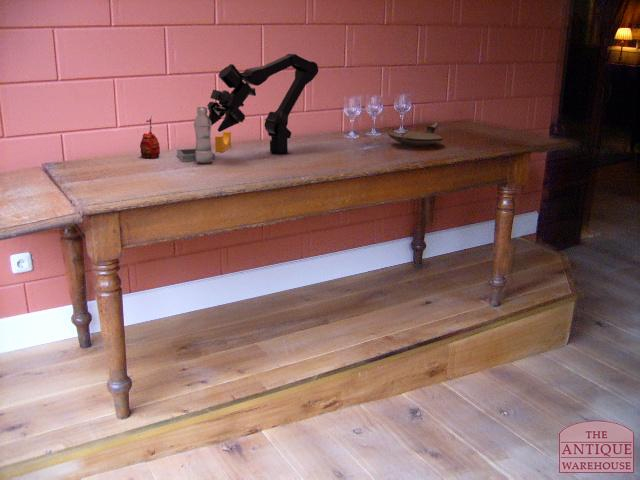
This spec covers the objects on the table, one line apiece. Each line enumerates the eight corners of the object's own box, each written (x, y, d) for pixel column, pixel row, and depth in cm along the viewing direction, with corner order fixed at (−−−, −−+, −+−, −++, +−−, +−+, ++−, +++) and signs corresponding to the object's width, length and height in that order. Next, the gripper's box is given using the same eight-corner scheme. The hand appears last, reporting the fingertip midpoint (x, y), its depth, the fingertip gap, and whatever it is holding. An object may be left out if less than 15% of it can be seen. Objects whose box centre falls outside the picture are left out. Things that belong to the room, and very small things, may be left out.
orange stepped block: (220, 146, 271) (220, 131, 269) (231, 147, 271) (230, 131, 268) (211, 152, 260) (210, 136, 258) (221, 153, 259) (221, 136, 257)
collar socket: (208, 153, 257) (207, 147, 256) (214, 159, 247) (214, 153, 246) (177, 155, 253) (176, 149, 252) (182, 162, 242) (182, 155, 242)
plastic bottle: (198, 165, 237) (196, 109, 231) (193, 161, 243) (190, 107, 237) (215, 163, 240) (213, 108, 234) (209, 160, 246) (207, 106, 239)
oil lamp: (375, 143, 282) (376, 126, 279) (429, 138, 297) (430, 121, 294) (408, 153, 264) (409, 134, 261) (464, 146, 279) (465, 128, 276)
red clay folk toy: (136, 157, 248) (133, 117, 243) (147, 154, 255) (144, 115, 250) (154, 159, 246) (151, 119, 241) (164, 156, 252) (162, 116, 247)
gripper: (211, 79, 245) (185, 111, 242) (237, 84, 231) (210, 118, 228) (229, 99, 252) (205, 131, 249) (256, 105, 238) (230, 138, 235)
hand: (212, 129), depth 240 cm, fingers open, 9 cm apart
